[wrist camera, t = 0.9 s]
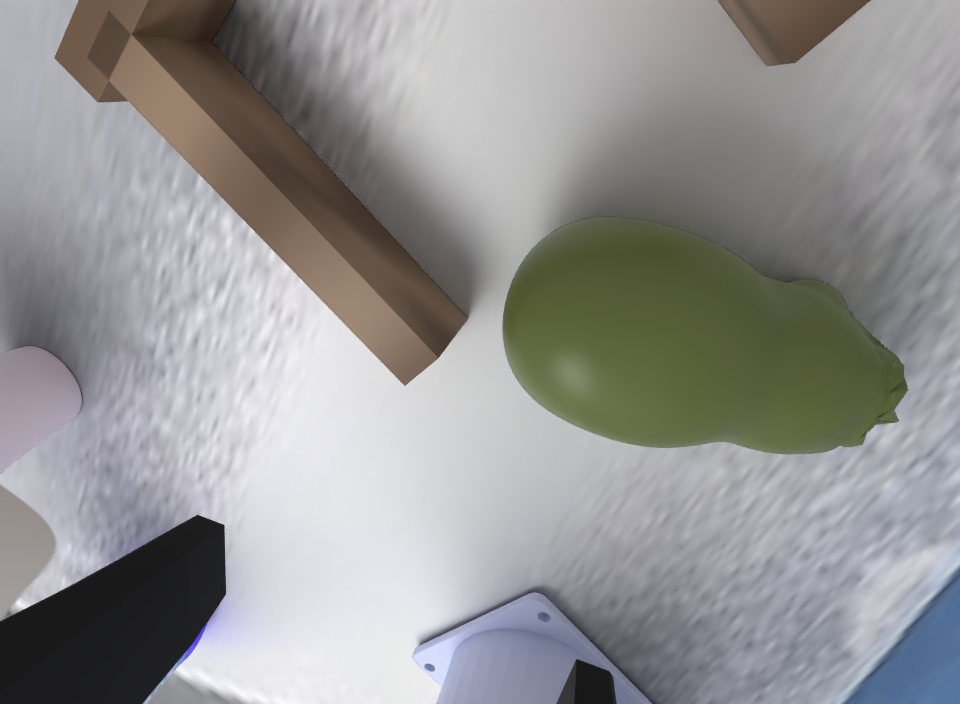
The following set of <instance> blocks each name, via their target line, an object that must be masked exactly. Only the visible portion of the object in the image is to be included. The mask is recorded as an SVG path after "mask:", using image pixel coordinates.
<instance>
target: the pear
mask: <svg viewBox="0 0 960 704" xmlns="http://www.w3.org/2000/svg"><path fill="white" fill-rule="evenodd" d="M503 341H504V348H505V352H506V356H507V359H508V362H509V365H510V367H511V369H512V371H513V373H514V375H515V377H516V379H517V380H518V382H519V383H520V384H521V386H522V387H523V388H524V390H525V391H526V392H527V393H528V394H529V395H530V396H531V397H532V398H533V399H534V400H535V401H536V402H538V403H539V404H540V405H541V406H543V407H544V408H545V409H547V410H548V411H550V412H551V413H553V414H554V415H556V416H558V417H560V418H561V419H563V420H565V421H567V422H569V423H571V424H573V425H575V426H577V427H580V428H582V429H584V430H587V431H589V432H592V433H594V434H597V435H600V436H603V437H606V438H609V439H612V440H616V441H619V442H623V443H628V444H633V445H639V446H646V447H657V448H673V447H686V446H694V445H700V444H706V443H712V442H730V443H733V444H736V445H740V446H743V447H746V448H750V449H754V450H758V451H763V452H768V453H775V454H813V453H822V452H827V451H830V450H832V449H835V448H837V447H838V446H844V447H853V446H858V445H862V444H863V442H864V439H865V436H866V433H867V432H868V431H870V430H871V429H872V428H873V427H874V426H875V425H877V424H886V423H894V421H895V422H898V421H899V420H898V418H897V415H896V413H895V411H894V409H895V408H896V406H897V405H898V404H899V402H900V401H901V399H902V398H903V397H904V395H905V394H906V392H907V391H908V389H907V384H906V381H905V378H904V365H903V364H902V363H901V362H900V360H899V359H898V357H897V356H896V355H895V354H893V353H892V352H890V350H887V347H886V348H884V345H883V344H881V343H880V342H879V341H878V340H877V339H876V338H875V337H874V336H873V335H872V334H870V332H869V331H868V330H867V329H866V328H865V327H864V326H863V325H862V324H861V323H859V322H858V321H857V320H856V319H855V318H854V316H853V315H852V313H851V312H850V311H849V310H848V309H847V307H846V303H845V300H844V298H843V297H842V295H841V294H840V293H839V292H838V291H837V290H836V289H835V288H834V287H832V286H831V285H829V284H827V283H824V282H822V281H818V280H811V279H803V280H795V281H790V282H782V281H779V280H775V279H772V278H769V277H766V276H764V275H761V274H760V273H758V272H757V271H756V270H755V269H754V268H753V267H752V266H750V265H749V264H748V263H747V262H745V261H744V260H743V259H741V258H740V257H739V256H737V255H736V254H734V253H733V252H731V251H730V250H728V249H726V248H724V247H723V246H721V245H719V244H717V243H715V242H712V241H710V240H708V239H705V238H703V237H700V236H698V235H695V234H692V233H689V232H686V231H683V230H680V229H677V228H674V227H670V226H666V225H663V224H659V223H654V222H650V221H645V220H639V219H632V218H623V217H595V218H588V219H583V220H579V221H575V222H572V223H569V224H567V225H564V226H562V227H560V228H558V229H556V230H555V231H553V232H551V233H550V234H549V235H547V236H546V237H545V238H543V239H542V240H541V241H540V242H539V243H538V244H537V245H536V246H535V247H534V248H533V249H532V250H531V251H530V252H529V254H528V255H527V256H526V257H525V259H524V260H523V262H522V263H521V265H520V267H519V268H518V270H517V272H516V274H515V276H514V278H513V280H512V283H511V285H510V288H509V291H508V294H507V298H506V302H505V307H504V314H503ZM872 425H874V426H872Z"/></svg>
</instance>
